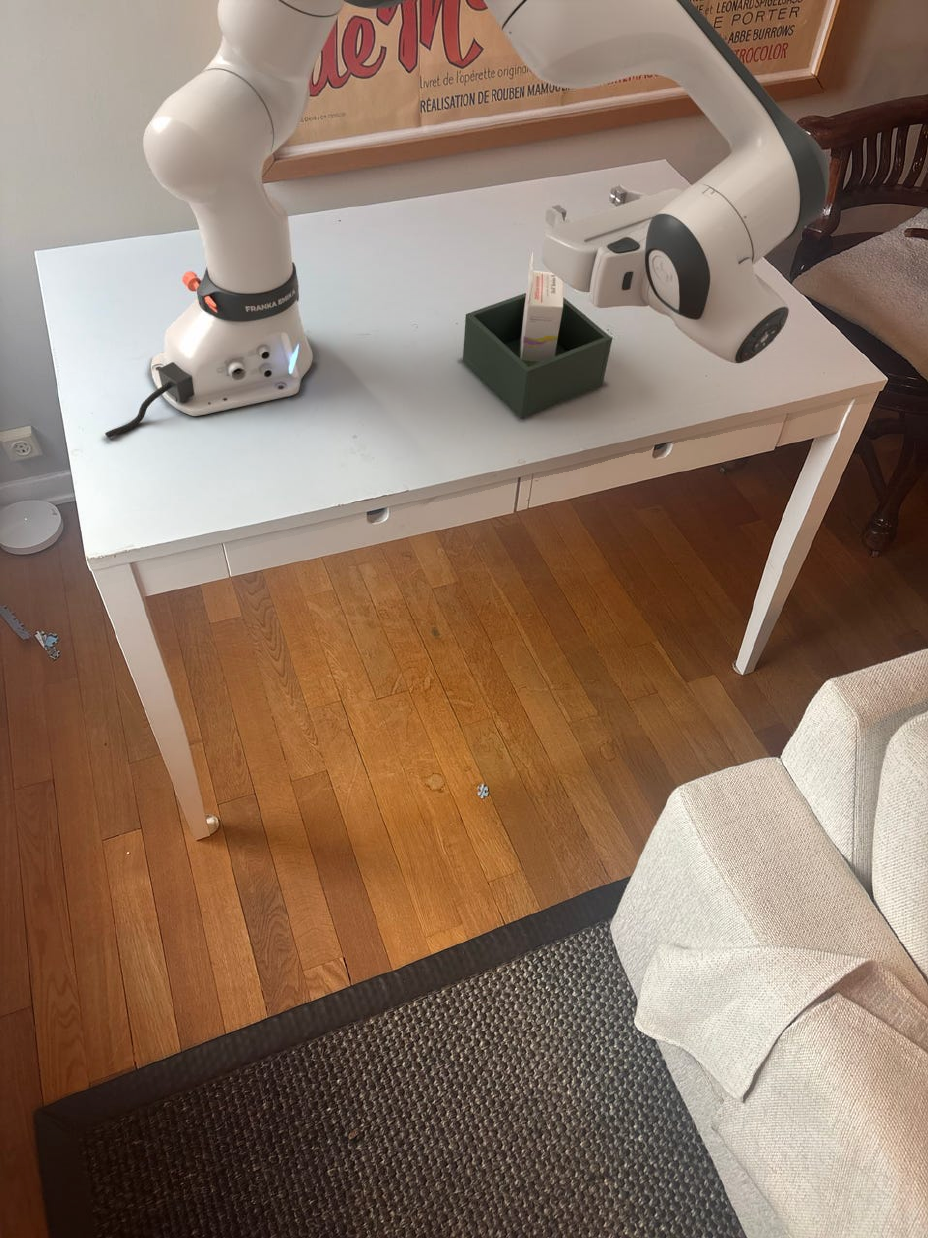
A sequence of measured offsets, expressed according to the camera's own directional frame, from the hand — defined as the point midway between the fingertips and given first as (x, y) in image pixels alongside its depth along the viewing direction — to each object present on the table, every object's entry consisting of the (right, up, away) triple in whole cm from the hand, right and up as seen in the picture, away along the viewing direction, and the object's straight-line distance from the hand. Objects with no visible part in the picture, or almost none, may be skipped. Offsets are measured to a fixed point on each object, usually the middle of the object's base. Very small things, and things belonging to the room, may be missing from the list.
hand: (583, 201), depth 112 cm
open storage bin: (-4, -13, +28) cm, 31 cm away
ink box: (-3, -11, +28) cm, 30 cm away
